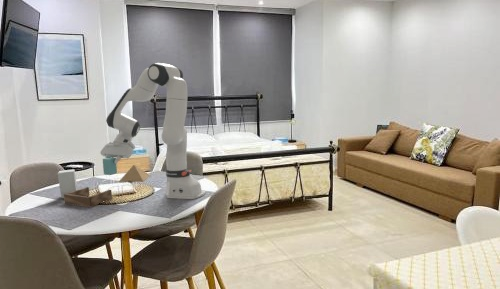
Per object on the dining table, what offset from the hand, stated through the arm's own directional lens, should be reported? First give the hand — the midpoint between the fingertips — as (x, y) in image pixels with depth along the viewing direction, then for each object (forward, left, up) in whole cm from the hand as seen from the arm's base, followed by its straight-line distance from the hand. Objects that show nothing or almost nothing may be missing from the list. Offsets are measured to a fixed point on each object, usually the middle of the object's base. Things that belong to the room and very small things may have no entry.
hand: (110, 162), depth 205 cm
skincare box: (+18, +14, -18) cm, 29 cm away
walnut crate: (0, +17, -18) cm, 25 cm away
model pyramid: (+11, -30, -18) cm, 37 cm away
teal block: (0, 0, -6) cm, 6 cm away
